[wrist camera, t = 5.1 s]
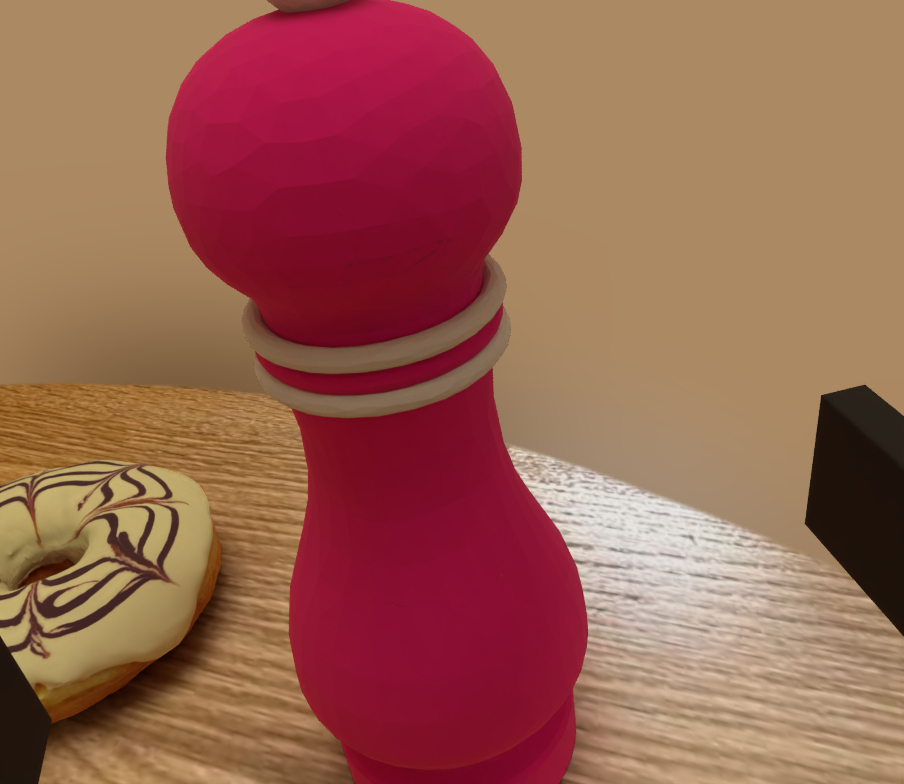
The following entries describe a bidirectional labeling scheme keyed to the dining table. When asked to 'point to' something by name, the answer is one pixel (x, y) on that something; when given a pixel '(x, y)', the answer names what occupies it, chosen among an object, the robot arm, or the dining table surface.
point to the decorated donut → (101, 575)
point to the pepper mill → (389, 379)
